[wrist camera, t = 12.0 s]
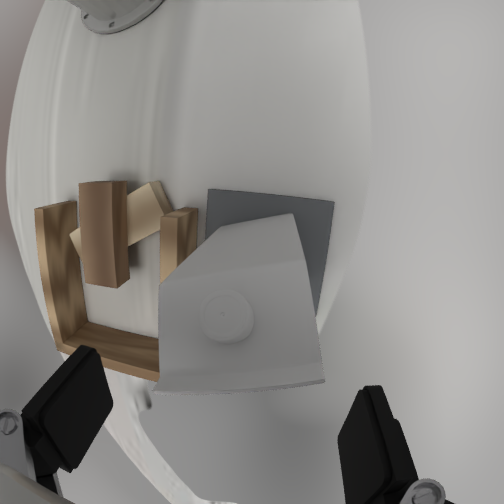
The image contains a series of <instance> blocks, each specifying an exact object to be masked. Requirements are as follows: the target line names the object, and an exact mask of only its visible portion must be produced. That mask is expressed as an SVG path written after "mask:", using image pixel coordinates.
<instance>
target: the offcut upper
mask: <svg viewBox="0 0 504 504" xmlns="http://www.w3.org/2000/svg"><path fill="white" fill-rule="evenodd" d="M79 215H80V233H81V246H82V257H83V266H84V274H85V282H86V283H88V284H94V285H99V286H105V287H111V288H118V287H120V286H121V285H122V284H124V283H125V282H126V281H127V280H129V279H130V272H129V258H128V238H127V181H95V182H86V183H79Z"/></svg>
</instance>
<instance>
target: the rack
mask: <svg viewBox="0 0 504 504" xmlns="http://www.w3.org/2000/svg"><path fill="white" fill-rule="evenodd" d="M34 210H35V228H36V240H37V250H38V259H39V266H40V273H41V280H42V286H43V291H44V297H45V302H46V307H47V312H48V316H49V320H50V325H51V329H52V333H53V337H54V340H55V344H56V347H57V350H58V351H60V352H63V353H66V354H68V355H71V354H72V353H73V352H74V351H75V350H76V349H77V348H78V347H79V346H80V345H86V346H89V347H92V348H95V349H96V350H97V353H99V354H100V356H101V360H102V364H103V367H105V368H109V369H112V370H115V371H118V372H122V373H125V374H129V375H132V376H136V377H139V378H143V379H147V380H151V381H155V382H157V381H158V380H159V378H160V369H159V339H156V338H152V337H147V336H143V335H138V334H134V333H130V332H125V331H121V330H117V329H113V328H109V327H106V326H102V325H98V324H94V323H91V322H88V320H87V314H86V308H85V302H84V295H83V288H82V280H81V271H80V261H79V255H78V253H77V250H76V248H75V246H74V244H73V242H72V240H71V237H70V235H69V234H70V233H72V232H73V231H75V230H76V229H77V204H76V201H66V202H61V203H57V204H52V205H48V206H44V207H39V208H35V209H34ZM197 221H198V208H185V207H184V208H181V209H178V210H176V211H173V212H171V213H168V214H166V215H164V216H161V217H160V283H162V282H163V281H164V280H165V279H166V278H167V277H168V276H169V275H170V274H171V273H172V272H173V271H174V270H175V269H176V268H177V267H178V266H179V265H180V264H181V263H182V262H183V261H184V260H185V259H186V258H187V257H188V256H189V255H191V254H192V253H193V252H194V251H195V250H196V244H197Z"/></svg>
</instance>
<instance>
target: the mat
mask: <svg viewBox="0 0 504 504" xmlns="http://www.w3.org/2000/svg"><path fill="white" fill-rule="evenodd" d="M333 210H334V202H331V201H324V200H316V199H308V198H299V197H291V196H282V195H272V194H262V193H252V192H241V191H229V190H216V189H208V200H207V217H206V236H205V240H207V239H208V238H209V237H210V236H211V235H212V234H213V233H214V232H215V231H216V230H217V229H218V228H219V227H221V226H225V225H230V224H235V223H240V222H245V221H251V220H256V219H261V218H266V217H272V216H277V215H282V214H288V213H292V214H293V216H294V219H295V223H296V226H297V230H298V234H299V237H300V241H301V245H302V249H303V253H304V256H305V260H306V265H307V270H308V276H309V281H310V287H311V293H312V299H313V305H314V311H315V317H316V314H317V308H318V303H319V298H320V293H321V287H322V282H323V276H324V270H325V264H326V258H327V252H328V245H329V239H330V232H331V225H332V217H333Z"/></svg>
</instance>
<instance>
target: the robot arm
mask: <svg viewBox="0 0 504 504" xmlns="http://www.w3.org/2000/svg"><path fill="white" fill-rule="evenodd" d="M67 1H68V2H70V3H71V4H73V5H75V6H76V7H78V8H80V9H81V18H82V22H83V24H84V26H85V27H87V28H88V29H89V30H91V31H93V32H95V33H99V34H109V33H114V32H118V31H120V30H123V29H126V28H128V27H130V26H132V25H134V24H136V23H137V22H139V21H140V20H142V19H143V18H145V17H146V16H147V15H149V14H150V13H151V12H152V11H153V10H154V9H155V8H156V7H158V6H159V4H160V3H161V2H162V1H163V0H67ZM112 408H113V399H112V396H111V393H110V389H109V386H108V383H107V379H106V376H105V372H104V368H103V364H102V360H101V356H100V354H99V353H97V350H96V349H95V348H92V347H89V346H86V345H80V346H79V347H78V348H77V349H76V350H75V351H74V352H73V353H72V354H71V355H70V356H69V358H68V359H67V360H66V361H65V362H64V363H63V364H62V365H61V366H60V367H59V368H58V370H57V371H56V372H55V373H54V374H53V375H52V376H51V377H50V378H49V380H48V381H47V382H46V383H45V384H44V385H43V386H42V387H41V389H40V390H39V391H38V392H37V393H36V394H35V395H34V397H33V398H32V399H31V400H30V401H29V403H28V404H27V405H26V406H25V407H24V408H23V410H22V414H21V415H20V414H19V413H18V412H16V411H15V410H12V409H3V410H0V504H75V503H73V502H71V501H69V500H67V499H65V498H63V494H62V491H61V487H60V484H59V480H58V476H57V470H58V468H59V467H60V468H61V469H63V470H65V471H67V472H69V473H71V472H72V470H73V469H76V468H77V467H78V466H79V464H80V463H81V461H82V459H83V457H84V456H85V454H86V452H87V450H88V449H89V447H90V445H91V443H92V442H93V440H94V438H95V437H96V435H97V433H98V432H99V430H100V428H101V427H102V425H103V423H104V422H105V420H106V418H107V417H108V415H109V413H110V412H111V410H112ZM338 449H339V455H340V463H341V470H342V477H343V485H344V493H345V502H346V504H454V503H452V502H450V501H448V500H446V499H445V497H446V496H445V491H444V488H443V487H442V485H441V484H440V483H439V482H437V481H435V480H432V479H421V480H419V479H418V476H417V472H416V469H415V466H414V463H413V460H412V457H411V454H410V451H409V448H408V445H407V442H406V439H405V436H404V433H403V431H402V428H401V425H400V423H399V421H398V420H397V419H394V418H393V415H392V412H391V409H390V407H389V404H388V401H387V398H386V396H385V393H384V391H383V388H382V386H380V385H375V386H365V387H364V388H363V390H359V391H358V393H357V395H356V398H355V400H354V402H353V405H352V407H351V409H350V411H349V414H348V416H347V418H346V420H345V422H344V424H343V426H342V429H341V431H340V433H339V435H338Z"/></svg>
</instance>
